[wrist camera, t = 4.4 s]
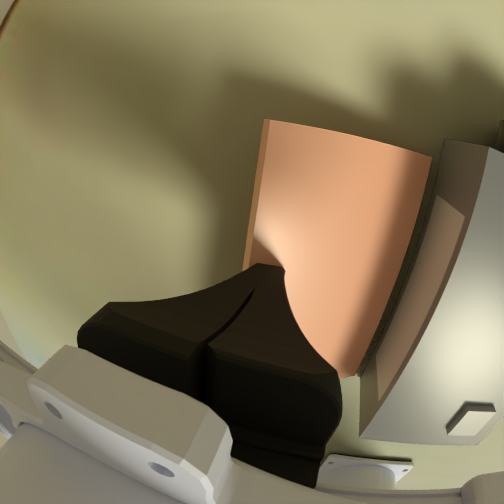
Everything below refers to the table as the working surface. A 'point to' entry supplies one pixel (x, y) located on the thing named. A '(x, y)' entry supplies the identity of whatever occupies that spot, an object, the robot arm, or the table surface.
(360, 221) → the side door
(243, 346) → the robot arm
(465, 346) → the camera housing
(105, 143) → the table surface
